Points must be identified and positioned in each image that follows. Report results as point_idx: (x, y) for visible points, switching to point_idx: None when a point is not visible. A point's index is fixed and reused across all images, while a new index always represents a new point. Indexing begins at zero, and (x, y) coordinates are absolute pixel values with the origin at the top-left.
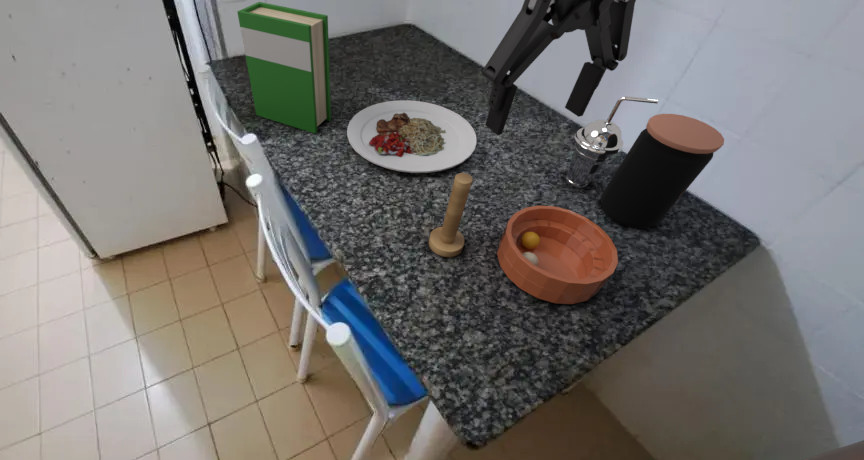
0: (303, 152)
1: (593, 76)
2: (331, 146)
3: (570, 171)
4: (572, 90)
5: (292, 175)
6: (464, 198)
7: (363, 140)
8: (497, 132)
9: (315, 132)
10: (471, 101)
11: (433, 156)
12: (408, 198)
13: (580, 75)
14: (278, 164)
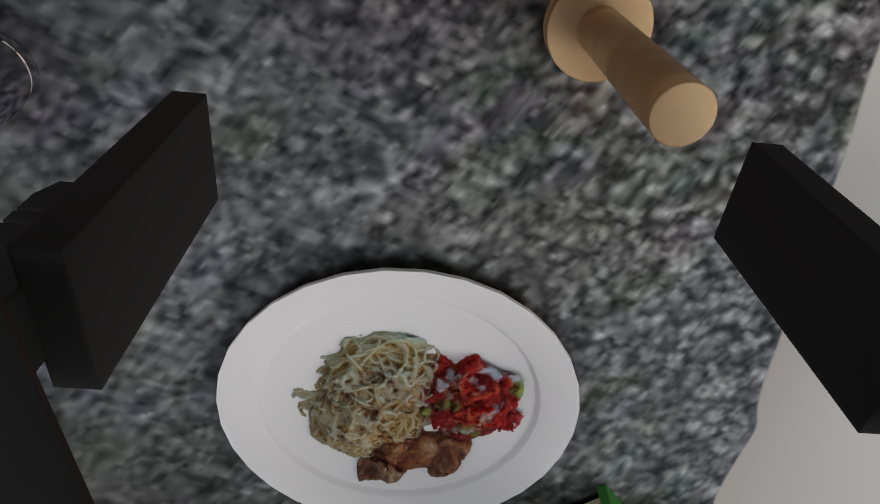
0: (672, 442)
1: (103, 245)
2: (601, 438)
3: (19, 97)
4: (183, 255)
5: (748, 389)
6: (667, 58)
7: (522, 431)
8: (788, 153)
9: (605, 486)
10: (137, 465)
11: (390, 325)
12: (558, 220)
13: (138, 314)
14: (748, 428)
